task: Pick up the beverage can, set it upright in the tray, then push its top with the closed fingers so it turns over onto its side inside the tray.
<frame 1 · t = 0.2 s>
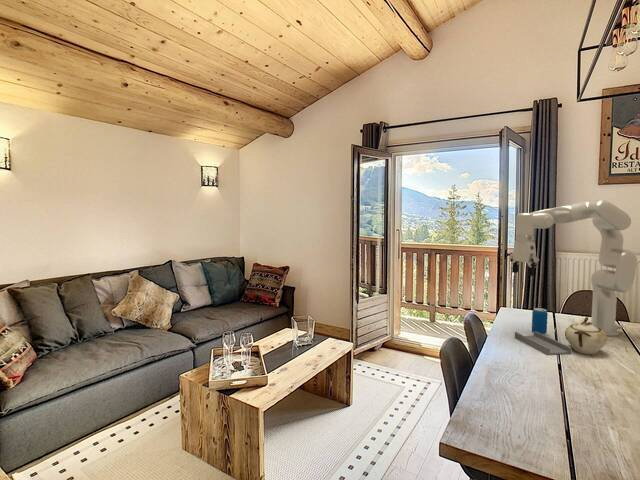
hand: (522, 274, 180), 30 cm above the table, tool pointing down, fingers open, 9 cm apart
beverage can: (538, 333, 186), on the table
tray: (541, 345, 169), on the table
sugar bowl: (584, 351, 162), on the table
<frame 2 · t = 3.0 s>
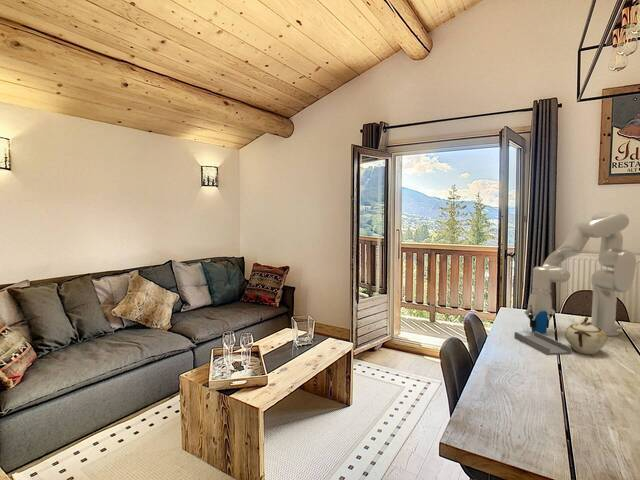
hand: (539, 327, 185), 3 cm above the table, tool pointing down, fingers closed on beverage can, 6 cm apart
beverage can: (538, 333, 186), on the table, touching gripper
everything else where it was.
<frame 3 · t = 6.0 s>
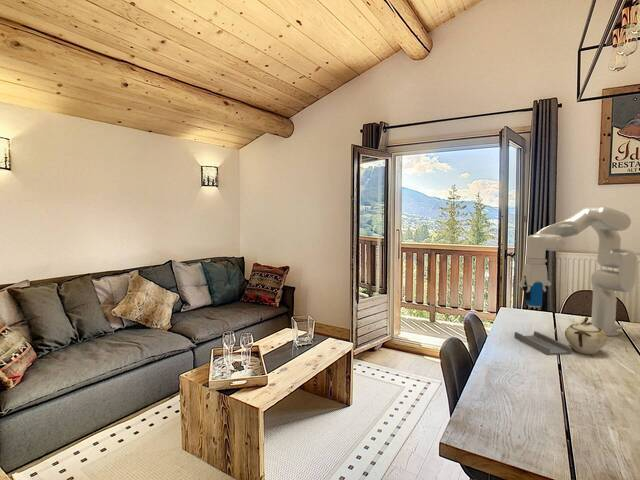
hand: (534, 299, 173), 20 cm above the table, tool pointing down, fingers closed on beverage can, 6 cm apart
beverage can: (533, 306, 173), point 16 cm above the table, touching gripper
everything else where it was.
when the fingers open (5 cm above the table, at t = 9.3 s): beverage can stays where it is, resting on tray.
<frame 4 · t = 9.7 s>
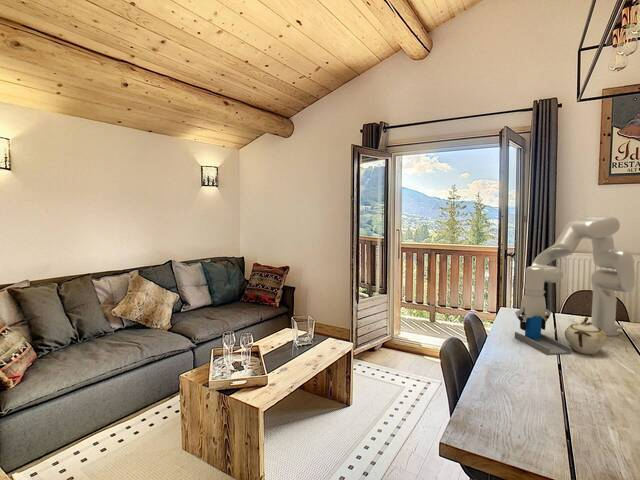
hand: (532, 329, 174), 6 cm above the table, tool pointing down, fingers open, 9 cm apart
beverage can: (532, 339, 175), point 1 cm above the table, touching tray
everything else where it was.
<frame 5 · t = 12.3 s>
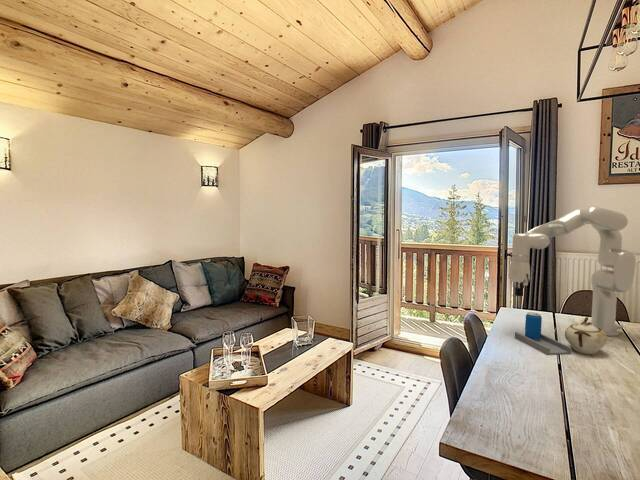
hand: (519, 295, 184), 19 cm above the table, tool pointing down, fingers closed
nothing on the table moved.
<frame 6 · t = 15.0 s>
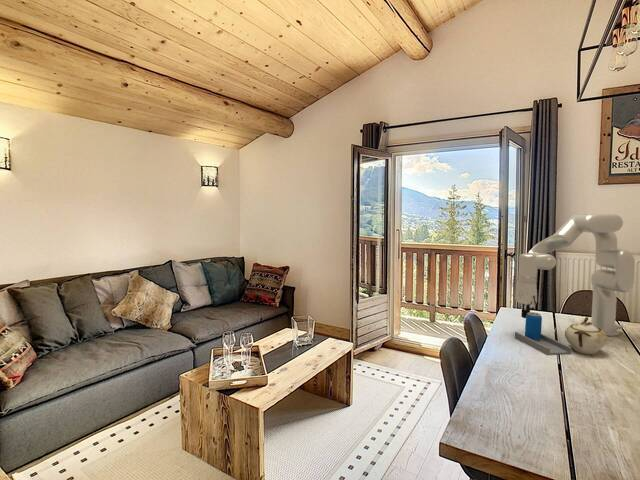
hand: (525, 317, 179), 10 cm above the table, tool pointing down, fingers closed
beverage can: (532, 339, 175), point 1 cm above the table, touching gripper, tray
everything else where it was.
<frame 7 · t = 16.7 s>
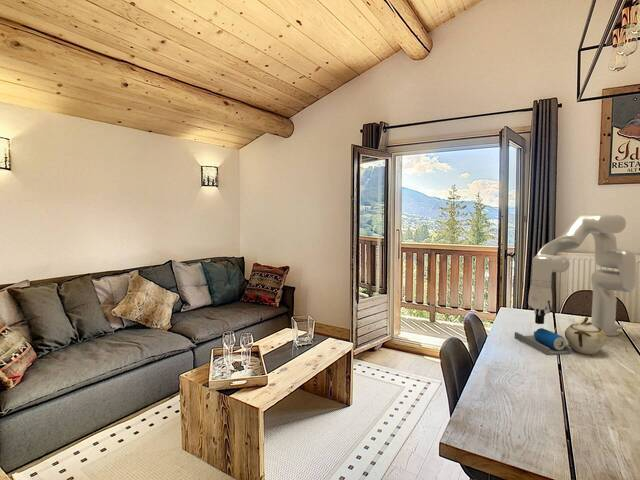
hand: (539, 323, 169), 10 cm above the table, tool pointing down, fingers closed
beverage can: (539, 334, 171), point 4 cm above the table, touching tray
everything else where it was.
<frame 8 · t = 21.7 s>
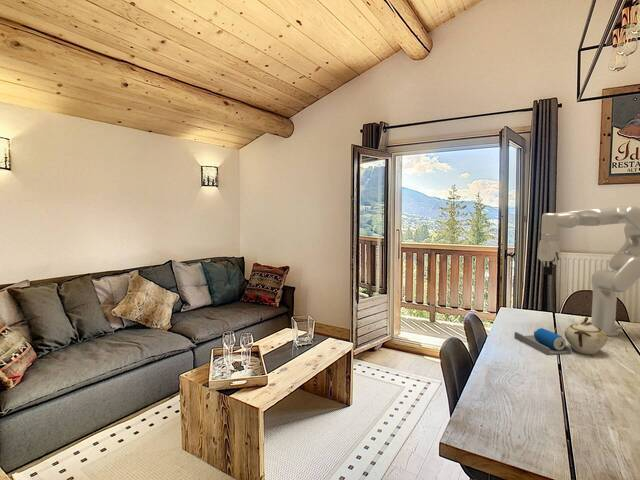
hand: (548, 274, 186), 29 cm above the table, tool pointing down, fingers closed
nothing on the table moved.
at the end: beverage can tilted 90°; beverage can inside the target area on the tray (4.2 cm from its centre), point 4.0 cm above the tray's base; the gripper is holding nothing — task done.
